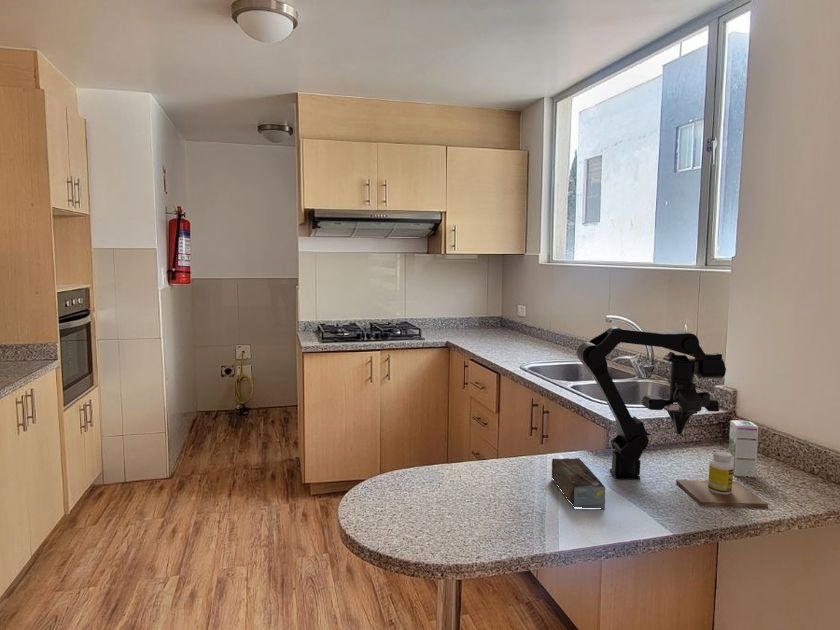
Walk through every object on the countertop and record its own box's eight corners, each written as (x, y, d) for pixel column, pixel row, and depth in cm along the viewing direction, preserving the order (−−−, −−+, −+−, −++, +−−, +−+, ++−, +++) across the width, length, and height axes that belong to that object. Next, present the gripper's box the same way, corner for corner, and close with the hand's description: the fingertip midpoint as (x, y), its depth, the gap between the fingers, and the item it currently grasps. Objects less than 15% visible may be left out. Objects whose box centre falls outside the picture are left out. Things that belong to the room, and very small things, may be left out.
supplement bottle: (731, 497, 140) (733, 458, 139) (706, 492, 143) (709, 454, 142) (732, 490, 144) (735, 452, 143) (708, 485, 147) (711, 448, 146)
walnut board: (701, 506, 137) (701, 502, 136) (676, 483, 150) (676, 479, 150) (768, 507, 136) (768, 503, 136) (736, 485, 150) (737, 481, 150)
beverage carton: (572, 511, 133) (573, 483, 132) (549, 480, 152) (550, 456, 152) (605, 510, 133) (606, 483, 133) (579, 480, 152) (580, 456, 152)
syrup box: (756, 477, 156) (760, 426, 154) (733, 475, 157) (736, 424, 156) (748, 470, 161) (752, 420, 160) (726, 468, 162) (729, 419, 161)
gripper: (659, 383, 145) (655, 442, 146) (732, 385, 145) (728, 444, 146) (642, 374, 156) (639, 430, 158) (710, 376, 156) (707, 431, 157)
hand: (678, 434), depth 154 cm, fingers closed
